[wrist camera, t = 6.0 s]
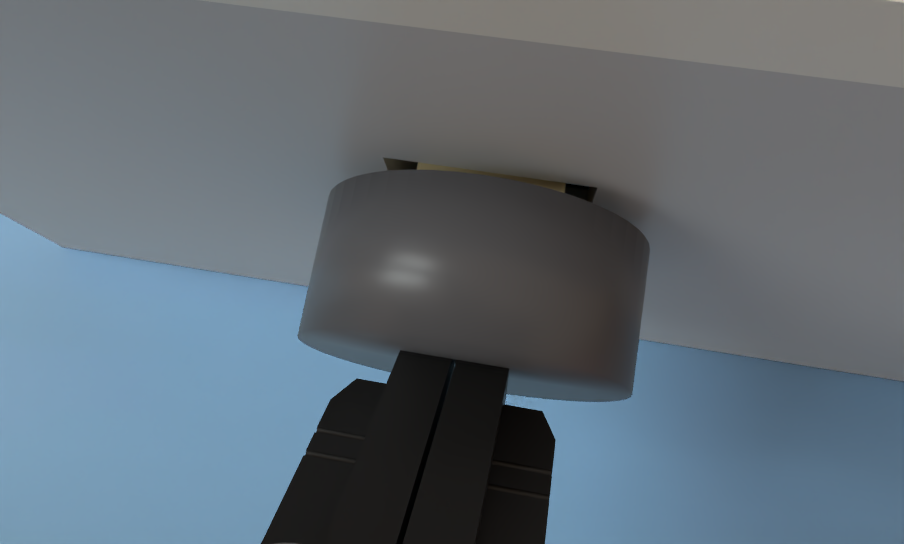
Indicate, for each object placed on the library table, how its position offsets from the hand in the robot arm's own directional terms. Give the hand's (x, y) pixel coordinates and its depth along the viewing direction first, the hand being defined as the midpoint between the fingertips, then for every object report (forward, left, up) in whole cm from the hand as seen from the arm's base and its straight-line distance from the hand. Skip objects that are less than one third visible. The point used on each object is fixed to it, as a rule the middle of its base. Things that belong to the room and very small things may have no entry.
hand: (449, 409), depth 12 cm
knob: (-2, +4, -2) cm, 5 cm away
